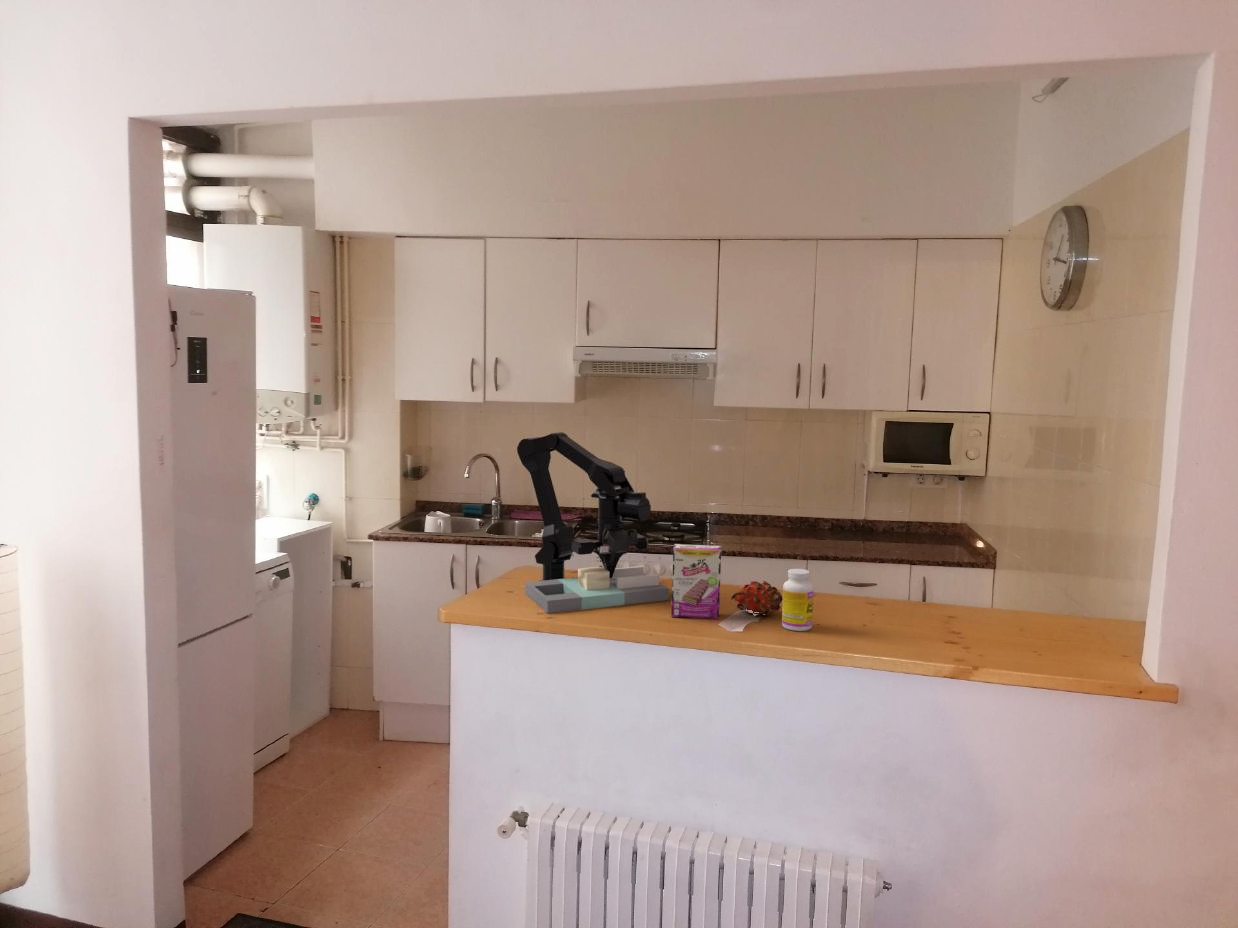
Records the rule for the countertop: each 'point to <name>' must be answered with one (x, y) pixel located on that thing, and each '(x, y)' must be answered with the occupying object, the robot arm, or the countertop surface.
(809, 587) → the supplement bottle
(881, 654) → the countertop surface
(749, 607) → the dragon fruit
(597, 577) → the beech block
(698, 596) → the candy bar box
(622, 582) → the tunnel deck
